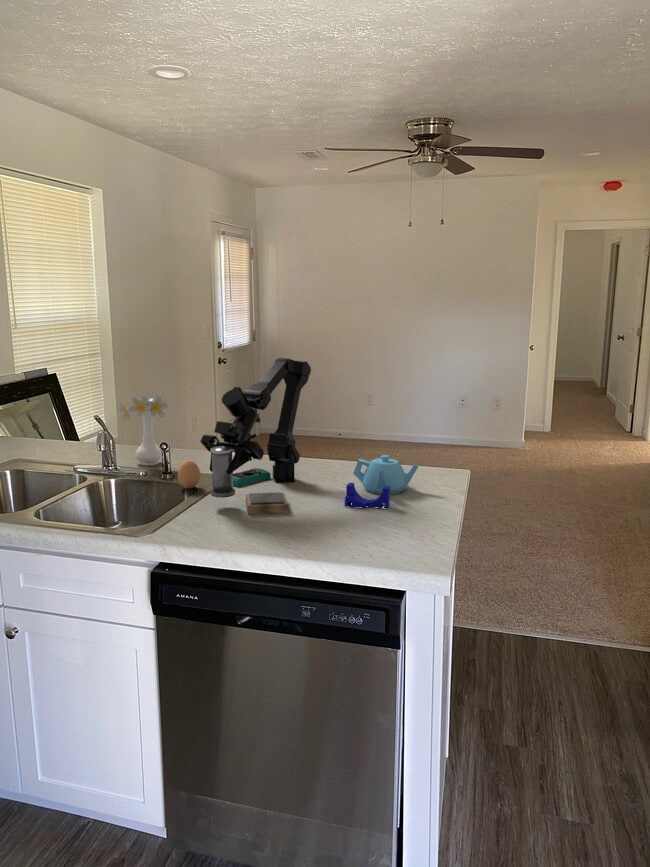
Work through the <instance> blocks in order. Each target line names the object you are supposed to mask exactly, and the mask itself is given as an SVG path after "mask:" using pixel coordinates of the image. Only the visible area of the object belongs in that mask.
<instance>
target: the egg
mask: <svg viewBox="0 0 650 867" xmlns="http://www.w3.org/2000/svg"><path fill="white" fill-rule="evenodd" d="M177 479H178V482H179V484H180V486H182V487H183V488H185V489H189V490H190V489H194V488H195V487H196V486H197V485H198V483H200V480H201V470H200V468H199V466H198V465H197V463H196V462H195V461H193V460H191V459H187V460H184V461H183V462H181V464H180V466H179V468H178V470H177Z"/></svg>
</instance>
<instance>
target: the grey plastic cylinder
mask: <svg viewBox="0 0 650 867" xmlns="http://www.w3.org/2000/svg"><path fill="white" fill-rule="evenodd" d="M233 452H234V450H233V448H232V447H228V446H218V447H213V448H211V452H210V454H211V453H212V473H211V474H212V489H211V490H210V496H212V497H213V498H220V499H221V498H230V497H233V496H235V495H236V489H235V487H234V486H233V474H234V472H232V473H231V474H230V475H229V474H228V473H227V471H228V468H229V466H230V464H231V462H232V460H233Z"/></svg>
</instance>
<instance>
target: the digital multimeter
mask: <svg viewBox="0 0 650 867" xmlns="http://www.w3.org/2000/svg"><path fill="white" fill-rule="evenodd" d="M269 479H271V472H270V471H268V470H266V469H264V468H263V469H262V468H258V467H257V468H256V467H255V468H252V469H248V470H244V471H240V472H235V473H234V472H233V487H236V488H239V487H243V486H246V485H250V484H254V483H258V482H262V481H266V480H269Z"/></svg>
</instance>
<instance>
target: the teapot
mask: <svg viewBox="0 0 650 867" xmlns="http://www.w3.org/2000/svg"><path fill="white" fill-rule="evenodd" d="M390 457H391V456H390V455H388V454H382V455H380V457H379V458H374V459H372V460H371V461H369V460H365V459H362V458H358V460H357V463H356V465H355V467H354V471H353V472H352V474H353V475H354V476H355V477H356V478H357V479H358V480H359V481H360V483H361V484H362V486H363V487H364V489H365V490H366V491H367V490H368V491H367V492H369V491H370V492H369V493H372V492H373V493H372V494H376V493H378V494H377V495H381V494H382V490H383V488H384V486H390V495H396V493H397V494H400V493H402V492H403V491H404V490H405V489H406V487H407V486H408V485H409V484H410V482H411V480H412V478H413V477H414V474H416V471H417V470H418V468H419V464H413V465H412V466H411V467H410V469H409V470H408V471H407V472H405V470H404V468H403V467H402V465H401V463H400V462H399V460H397V459H394V458H390ZM362 466H365V467H366V468H365V470H364V472H362V471H361V470H362V468H363V467H362Z"/></svg>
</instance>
